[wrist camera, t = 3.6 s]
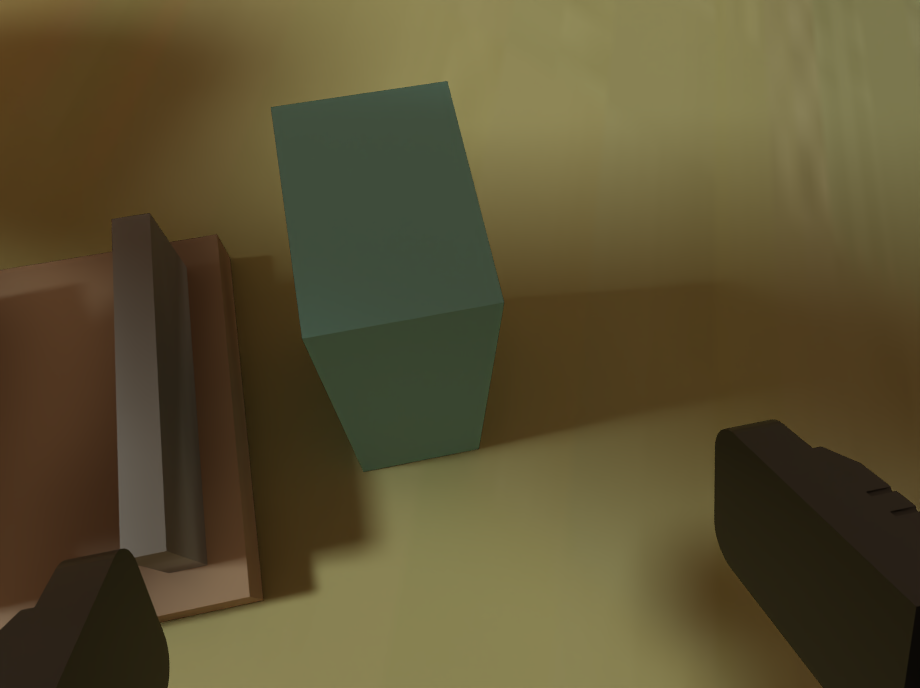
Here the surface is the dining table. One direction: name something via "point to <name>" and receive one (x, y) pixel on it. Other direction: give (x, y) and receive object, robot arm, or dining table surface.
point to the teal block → (391, 269)
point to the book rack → (126, 422)
